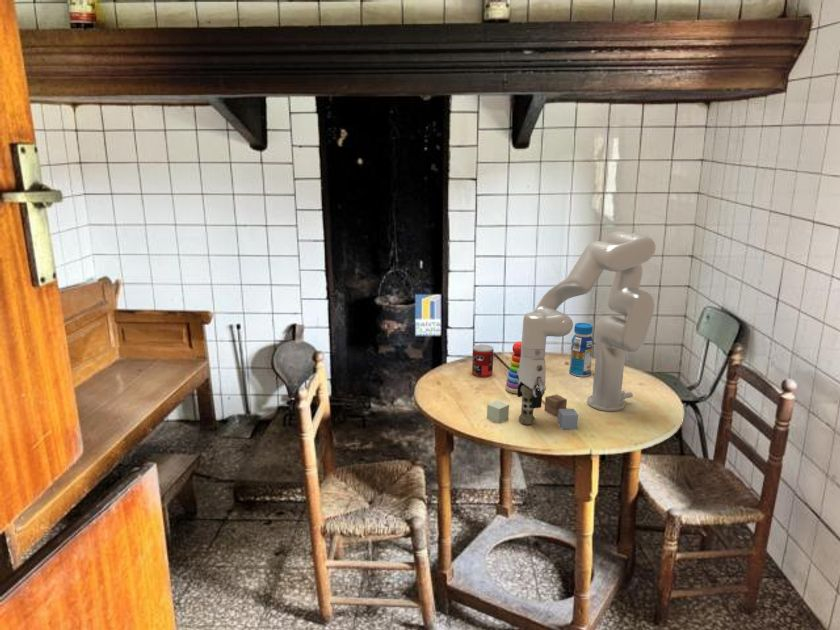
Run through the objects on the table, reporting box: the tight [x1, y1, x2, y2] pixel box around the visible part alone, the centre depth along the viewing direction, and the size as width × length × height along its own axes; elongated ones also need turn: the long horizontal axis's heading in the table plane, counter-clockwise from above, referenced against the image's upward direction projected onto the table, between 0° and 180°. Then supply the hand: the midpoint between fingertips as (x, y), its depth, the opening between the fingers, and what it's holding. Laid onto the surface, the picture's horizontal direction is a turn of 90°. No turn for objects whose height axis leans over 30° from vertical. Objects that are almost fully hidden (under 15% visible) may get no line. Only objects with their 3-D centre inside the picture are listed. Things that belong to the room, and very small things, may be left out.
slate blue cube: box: [557, 408, 579, 430], centre depth 204 cm, size 5×5×5 cm
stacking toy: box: [504, 341, 522, 395], centre depth 231 cm, size 8×8×19 cm
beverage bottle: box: [568, 322, 594, 378], centre depth 248 cm, size 8×8×20 cm
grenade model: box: [518, 385, 539, 426], centre depth 206 cm, size 6×7×15 cm
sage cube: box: [486, 400, 510, 424], centre depth 209 cm, size 5×5×5 cm
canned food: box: [471, 344, 494, 378], centre depth 248 cm, size 8×8×11 cm
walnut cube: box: [544, 394, 568, 416], centre depth 215 cm, size 5×5×5 cm
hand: (528, 401), depth 206 cm, fingers open, 9 cm apart
